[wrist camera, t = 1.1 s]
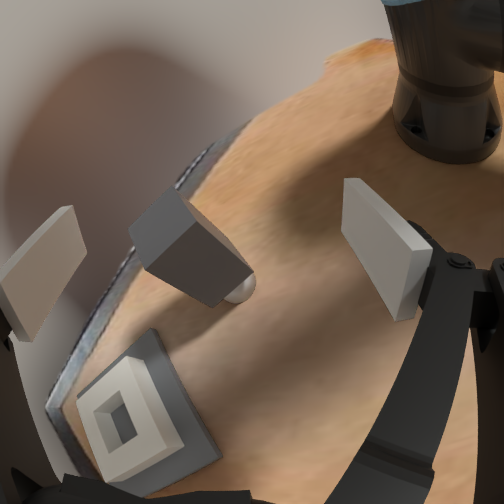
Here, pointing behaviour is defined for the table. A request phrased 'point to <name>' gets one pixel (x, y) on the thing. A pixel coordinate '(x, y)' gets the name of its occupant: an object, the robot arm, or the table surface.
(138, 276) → the table surface
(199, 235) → the plug
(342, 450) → the table surface
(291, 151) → the table surface
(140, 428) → the socket
